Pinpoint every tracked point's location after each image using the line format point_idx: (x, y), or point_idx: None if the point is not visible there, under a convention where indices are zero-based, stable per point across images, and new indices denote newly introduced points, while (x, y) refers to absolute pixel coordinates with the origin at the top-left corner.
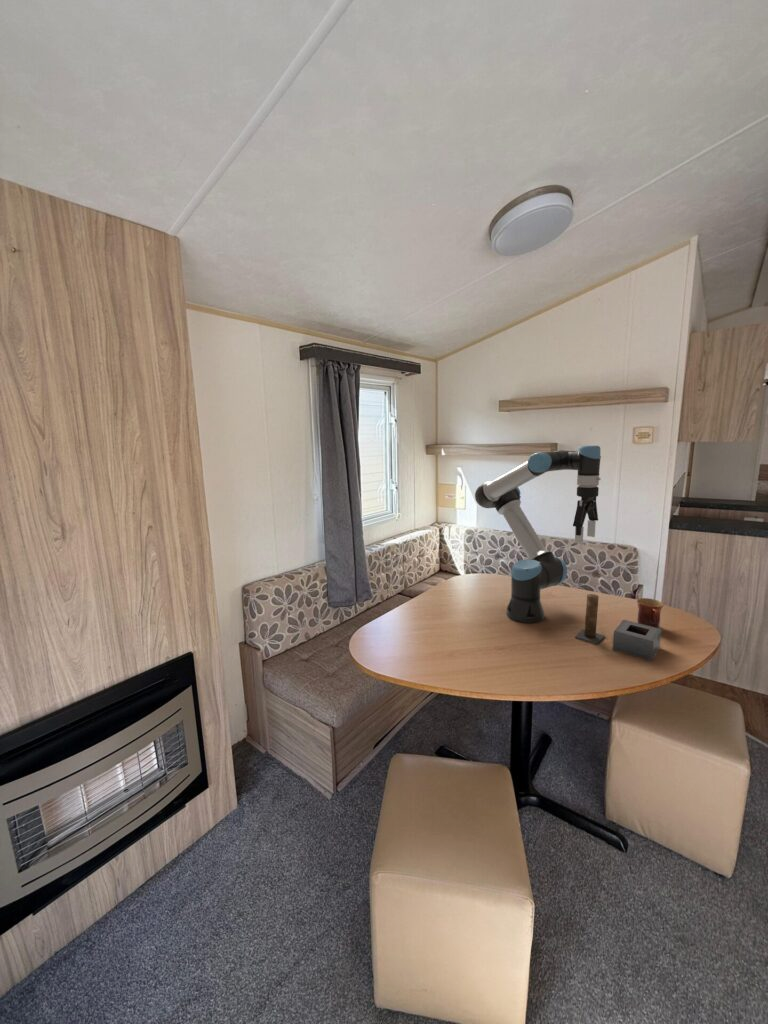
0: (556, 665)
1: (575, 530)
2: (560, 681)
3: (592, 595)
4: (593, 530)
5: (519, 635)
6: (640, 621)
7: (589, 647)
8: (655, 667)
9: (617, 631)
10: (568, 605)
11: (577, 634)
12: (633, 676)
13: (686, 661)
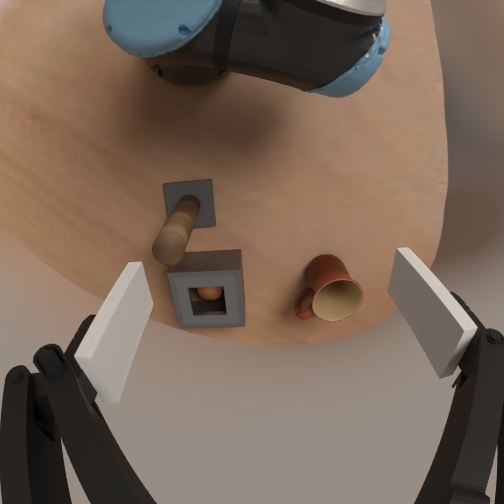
0: (59, 210)
1: (90, 327)
2: (37, 234)
3: (170, 249)
4: (408, 315)
5: (93, 99)
6: (311, 268)
7: (149, 220)
8: (170, 312)
9: (170, 278)
10: None
11: (176, 184)
12: None
13: (224, 334)
